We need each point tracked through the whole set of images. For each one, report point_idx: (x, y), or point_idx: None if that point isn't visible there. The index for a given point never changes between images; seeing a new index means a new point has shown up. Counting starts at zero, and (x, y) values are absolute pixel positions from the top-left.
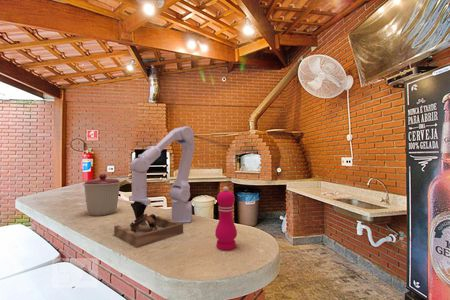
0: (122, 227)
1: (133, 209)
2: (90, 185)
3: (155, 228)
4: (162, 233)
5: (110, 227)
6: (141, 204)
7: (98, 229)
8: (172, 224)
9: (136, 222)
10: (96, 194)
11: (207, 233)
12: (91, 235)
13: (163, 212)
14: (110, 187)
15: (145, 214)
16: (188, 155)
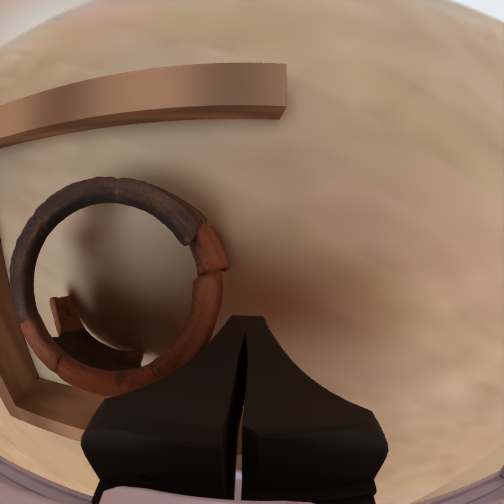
0: (158, 103)
1: (295, 381)
2: None
3: (58, 328)
4: None
5: (484, 179)
6: (112, 484)
7: (497, 105)
8: (58, 412)
9: (33, 216)
10: None
11: (2, 414)
12: (406, 4)
13: (417, 488)
14: None
15: (67, 371)
16: None
